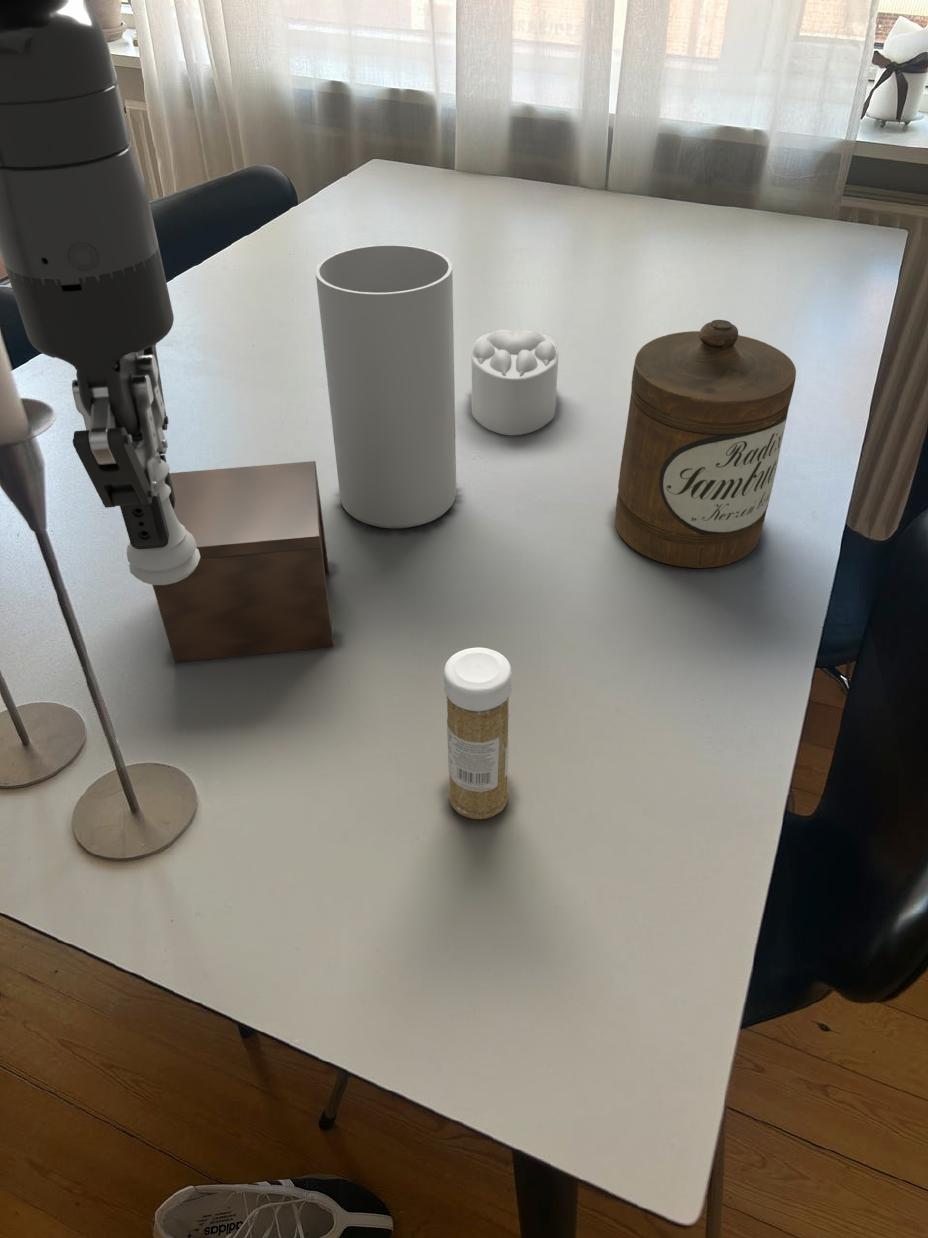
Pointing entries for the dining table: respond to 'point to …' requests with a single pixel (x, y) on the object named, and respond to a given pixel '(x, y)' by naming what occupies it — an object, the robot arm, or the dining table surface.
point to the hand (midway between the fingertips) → (155, 526)
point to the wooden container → (702, 445)
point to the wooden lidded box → (249, 564)
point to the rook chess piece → (179, 551)
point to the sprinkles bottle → (478, 731)
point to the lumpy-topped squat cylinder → (514, 381)
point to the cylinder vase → (390, 381)
